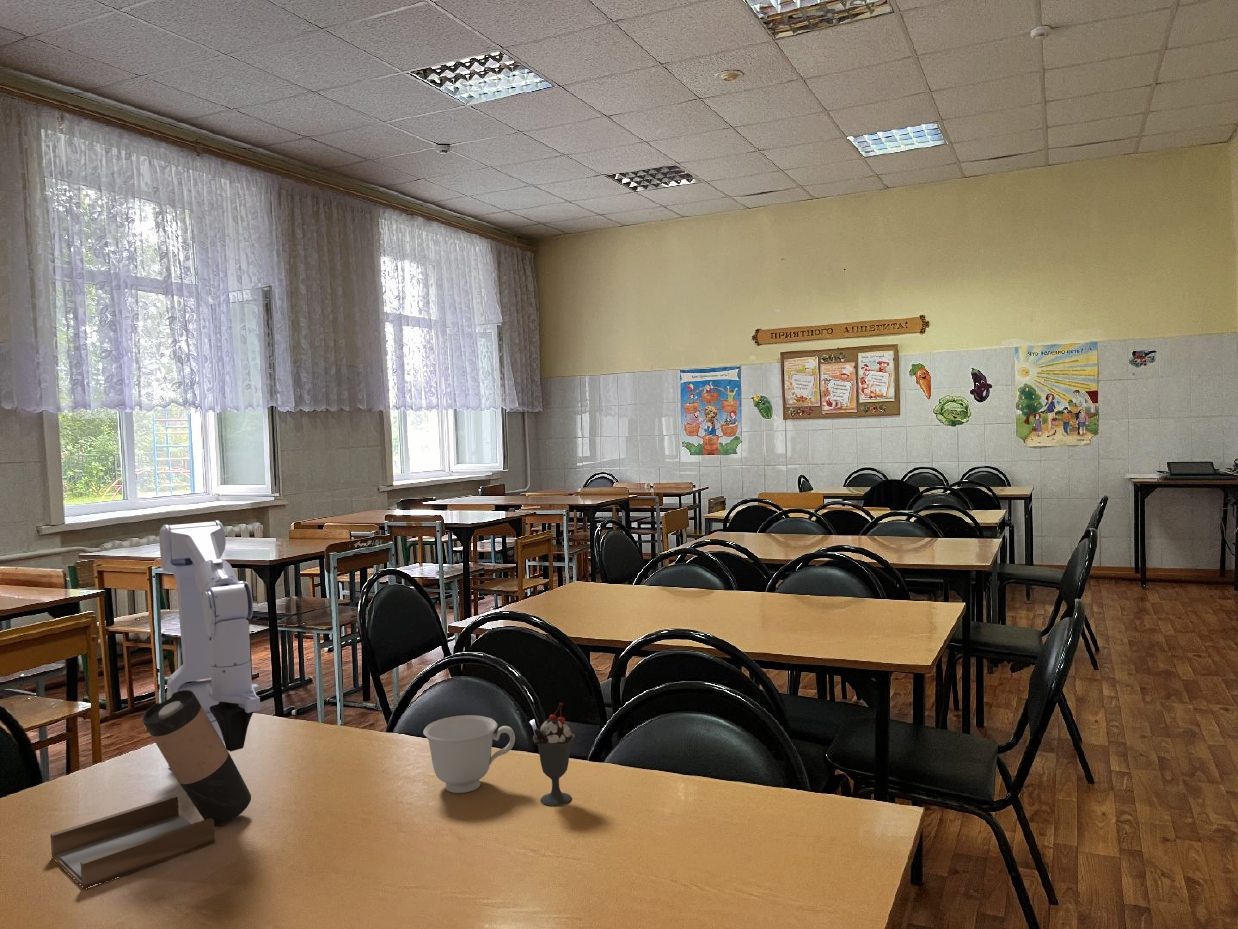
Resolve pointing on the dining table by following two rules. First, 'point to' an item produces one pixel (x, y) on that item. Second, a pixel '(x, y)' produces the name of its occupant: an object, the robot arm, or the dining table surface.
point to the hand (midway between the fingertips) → (235, 749)
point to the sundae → (554, 755)
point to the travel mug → (198, 757)
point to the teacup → (464, 749)
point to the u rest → (128, 842)
